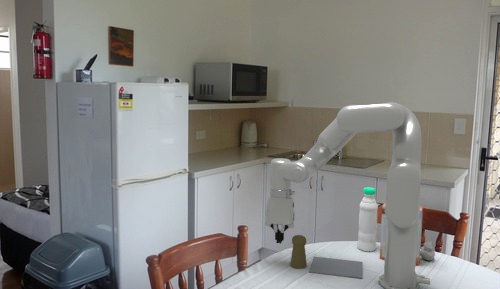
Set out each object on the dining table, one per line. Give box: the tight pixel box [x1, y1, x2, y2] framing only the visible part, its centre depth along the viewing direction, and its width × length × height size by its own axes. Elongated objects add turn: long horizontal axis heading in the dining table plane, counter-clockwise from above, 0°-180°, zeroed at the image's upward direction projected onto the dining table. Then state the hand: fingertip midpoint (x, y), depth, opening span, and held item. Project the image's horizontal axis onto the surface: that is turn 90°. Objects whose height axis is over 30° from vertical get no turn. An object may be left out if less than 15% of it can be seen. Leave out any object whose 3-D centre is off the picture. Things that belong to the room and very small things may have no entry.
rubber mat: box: [308, 255, 364, 280], centre depth 153 cm, size 18×14×1 cm
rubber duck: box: [420, 240, 436, 261], centre depth 161 cm, size 5×7×8 cm
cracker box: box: [379, 202, 424, 266], centre depth 159 cm, size 14×6×21 cm, turn 64°
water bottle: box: [357, 186, 379, 252], centre depth 169 cm, size 7×7×25 cm
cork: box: [289, 234, 307, 270], centre depth 153 cm, size 6×6×11 cm
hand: (279, 242), depth 155 cm, fingers closed
